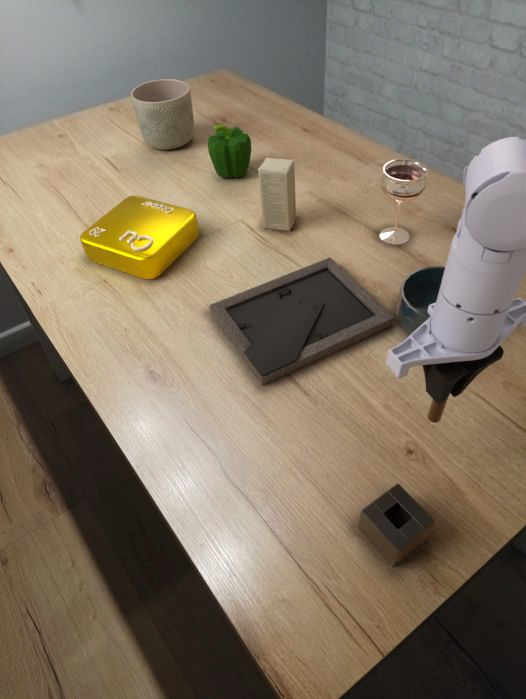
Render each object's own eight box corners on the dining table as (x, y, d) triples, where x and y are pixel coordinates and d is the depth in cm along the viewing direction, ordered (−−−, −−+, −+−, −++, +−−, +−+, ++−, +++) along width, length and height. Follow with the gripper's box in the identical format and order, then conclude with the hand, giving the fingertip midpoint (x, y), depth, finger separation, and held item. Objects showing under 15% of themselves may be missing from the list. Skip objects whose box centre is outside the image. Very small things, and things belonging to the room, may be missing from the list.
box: (296, 218, 92) (296, 159, 84) (289, 232, 89) (288, 173, 81) (268, 214, 93) (265, 156, 85) (261, 227, 91) (257, 169, 82)
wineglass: (378, 221, 90) (386, 156, 81) (417, 227, 88) (431, 161, 79) (370, 244, 86) (378, 177, 77) (411, 250, 84) (425, 183, 75)
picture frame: (262, 385, 67) (392, 325, 73) (261, 375, 65) (394, 315, 71) (211, 312, 77) (329, 265, 83) (209, 302, 75) (330, 255, 81)
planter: (133, 153, 112) (120, 101, 104) (153, 127, 120) (143, 77, 112) (187, 156, 110) (178, 103, 102) (204, 130, 118) (197, 79, 110)
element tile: (204, 232, 90) (200, 208, 87) (153, 283, 82) (146, 259, 78) (136, 213, 96) (130, 190, 92) (82, 259, 87) (72, 235, 84)
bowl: (482, 298, 76) (491, 275, 72) (474, 353, 69) (483, 330, 65) (404, 283, 79) (408, 260, 75) (389, 334, 72) (393, 311, 68)
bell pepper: (252, 161, 107) (249, 112, 99) (253, 182, 101) (249, 131, 94) (212, 164, 107) (206, 115, 100) (210, 184, 101) (203, 134, 94)
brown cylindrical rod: (441, 414, 56) (462, 352, 48) (439, 424, 55) (461, 363, 48) (428, 410, 56) (447, 349, 49) (426, 421, 55) (445, 359, 48)
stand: (392, 500, 55) (397, 482, 52) (428, 537, 52) (435, 520, 49) (357, 527, 53) (361, 510, 51) (392, 567, 51) (398, 551, 48)
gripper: (511, 240, 47) (473, 343, 57) (374, 290, 43) (360, 390, 53) (573, 285, 42) (520, 388, 52) (426, 345, 39) (400, 443, 49)
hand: (442, 392), depth 52 cm, fingers closed on brown cylindrical rod, 1 cm apart
